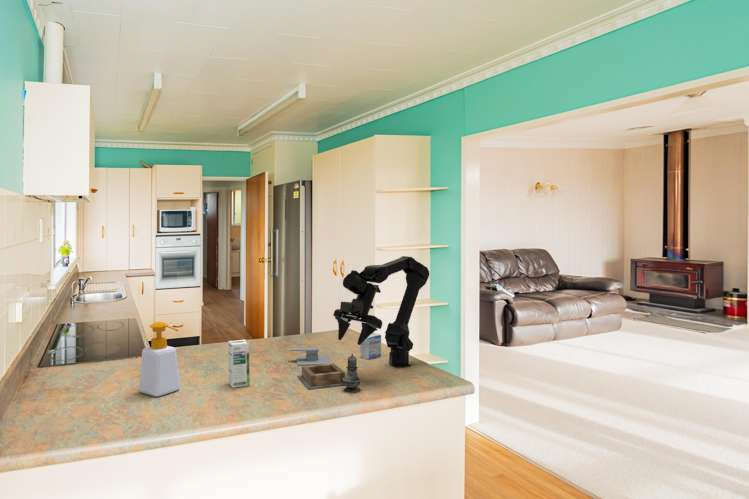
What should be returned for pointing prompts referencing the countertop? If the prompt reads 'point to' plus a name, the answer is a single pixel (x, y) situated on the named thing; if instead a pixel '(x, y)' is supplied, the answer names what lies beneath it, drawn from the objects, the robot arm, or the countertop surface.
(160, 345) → the soap bottle
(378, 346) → the medicine box
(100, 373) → the countertop surface
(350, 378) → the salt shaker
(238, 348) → the syrup box
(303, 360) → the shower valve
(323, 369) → the holder
